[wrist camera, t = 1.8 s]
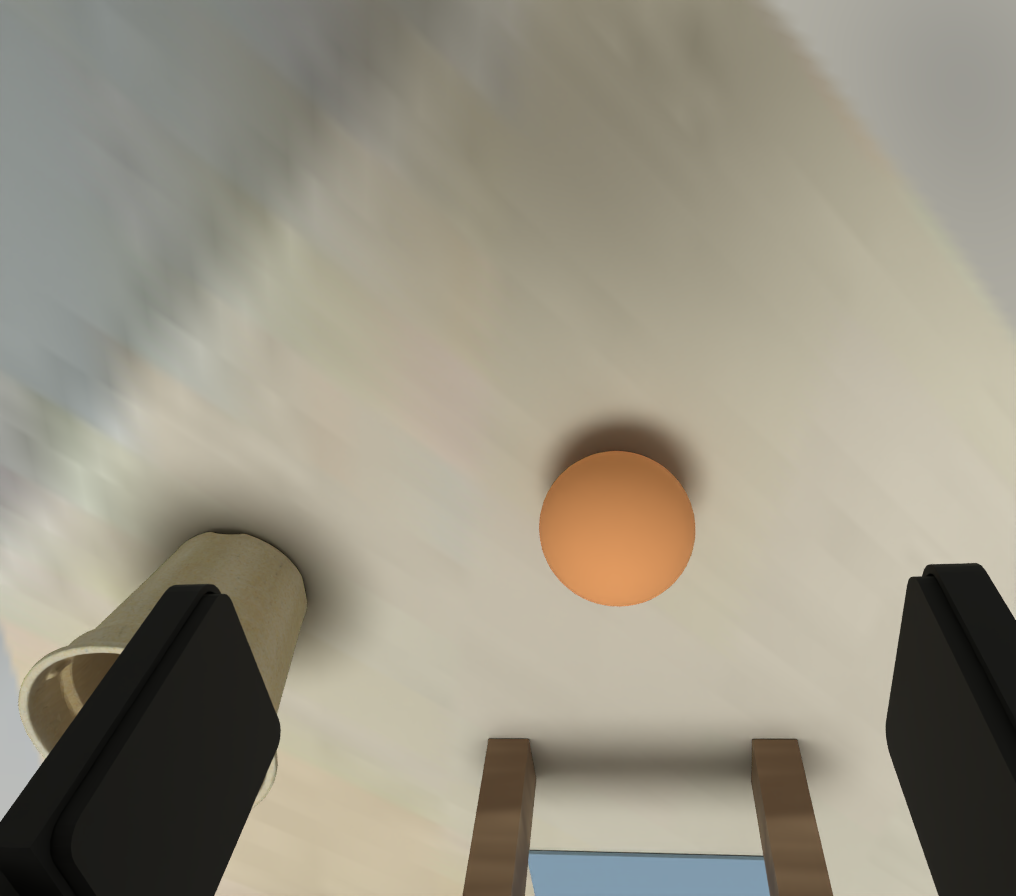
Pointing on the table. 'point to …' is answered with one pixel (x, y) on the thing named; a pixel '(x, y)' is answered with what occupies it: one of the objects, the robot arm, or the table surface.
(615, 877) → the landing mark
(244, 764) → the robot arm
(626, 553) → the ball
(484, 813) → the bridge
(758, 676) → the table surface
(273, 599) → the flower pot
